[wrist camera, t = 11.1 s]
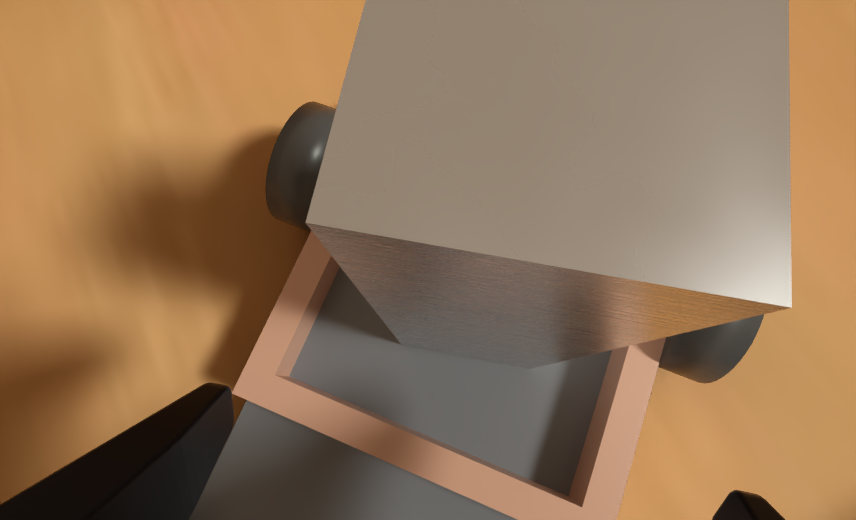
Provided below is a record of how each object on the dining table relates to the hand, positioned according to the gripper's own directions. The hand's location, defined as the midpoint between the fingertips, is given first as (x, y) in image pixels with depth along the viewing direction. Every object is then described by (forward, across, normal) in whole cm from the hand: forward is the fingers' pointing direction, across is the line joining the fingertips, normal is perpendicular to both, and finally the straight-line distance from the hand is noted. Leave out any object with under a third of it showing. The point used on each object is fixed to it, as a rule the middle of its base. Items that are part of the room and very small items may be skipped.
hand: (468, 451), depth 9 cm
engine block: (+9, 0, +2) cm, 9 cm away
